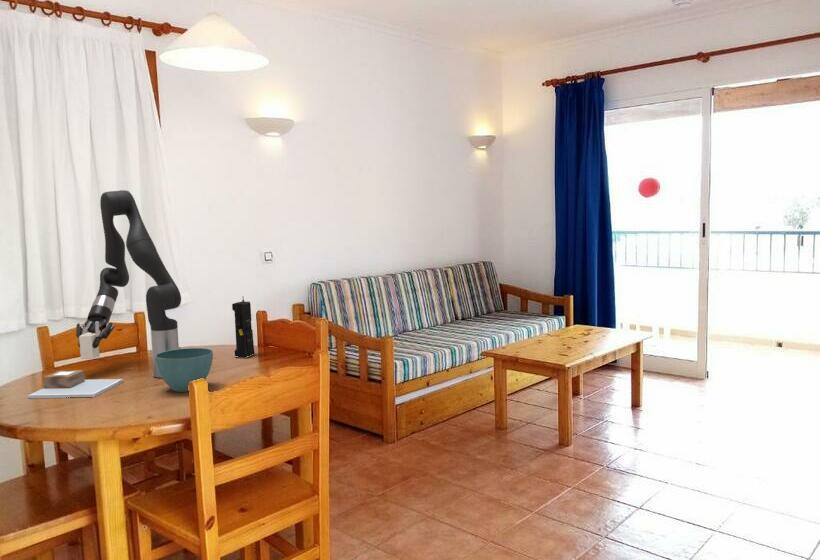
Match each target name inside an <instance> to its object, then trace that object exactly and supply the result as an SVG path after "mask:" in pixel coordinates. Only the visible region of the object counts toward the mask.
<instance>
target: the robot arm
mask: <svg viewBox="0 0 820 560" xmlns="http://www.w3.org/2000/svg"><path fill="white" fill-rule="evenodd" d="M99 204H100V206H99V207H100V213H101V219H102V226H103V227H102V228H103V233H104V241H105V245H104V246H105V247H104V251H105V255H104V257H105V258H104V261H105V263H106V264H107V265H109V266H111V267H104V268H103V269H102V270H101V271H100V274H99V289H98V291H97V294H96V297H95V298H94V300H93V302H92V305H91V307H90V309H89V312H88V314H87V319H86V321H85V322H84V323H83V324H81V323H76V328H75V329H76V330H75V336H76V337H77V339H78V340H79V336H81V335H84V334H85V333H92V334H96V337H95V339H94V342H93V344H92V346H93V348H97V347H98V346H99V345H100V342H101V341H102V340H103V339H104V340H107V339H108V337H109V336H110V334H111V333H112V331H113V330H114V329H115V326H114V325H115V324H113V322H112V321H111V322H110V319H111V317H112V315H113V311H114V309H115V304H116V301H117V298H118V296H119V290H118V287H119V288H124V287H126V286H128V283H129V282H130V274H129V270H128V267H127V264H126V259H125V258H126V249H127V251H128V254H129V256H130V257H131V260H132V261H133V263H134V264H135V265H136V266H137V267H138V268H140V269H141V270H142V271H144V272H145V274H147V275H148V276H149V277H150V278H152V280H153V281H154V282H155V284H156V285H153V286H150V287H148V289H147V291H146V294H145V302H146V303H145V304H146V305H145V306H146V311H147V319H148V323H149V326H150V338H151V340H150V341H151V352H152V353H151V355H152V368H153V369H152V370H153V371H152V372H153V377H154V378H157V379H158V378H159V379H161V378H162V376H161V374H160V372H159V370H158V367H157V363H156V358H155V355H156V354H158V353H161V352H165V351H169V350H176V349H182V347H180V345H179V344H180V343H179V330H178V329H179V328H178V327H179V326H178V321H177V320H176V319H174V318H170V317H168V316H167V314H166V311H168V310H174V309H177V308H178V307H180V305H181V304H182V295H181V292H180V289H179V287H178V285H177V284H176V283H175V281H174V279H173V278H172V277H171V275H170V273H169V271H168V269H167V268H166V266H165V264H164V262H163V260H162V258H161V256H160V255H159V252H158V250H157V247H156V245H155V244H154V241H153V240H152V237H151V236H150V234H149V232H148V230H147V227H146V225H145V223H144V222H143V221H144V220H143V219H142V216H141V214H140V211H139V210H140V209H139V208H138V205H137V202H136V201H135V198H134V195H133V194H132V193H131V192H130V191H129V190H123V189H121V190H114V191H113V190H112V191H111V190H110V191H109V190H108V191H104V192H103V193H102V194H101V195H100V202H99ZM124 215H125V217H126V218H127V220H128V223H129V226H128V227H129V229H128V233H127V235H126V239H125V240H126V242H125V240H124V239H123V237H122V236H121V234H120V233H119V231H118V229H117V228H116V227H115V224H114V218H115V216H124ZM116 287H117V288H116ZM77 346H78V348H79V349H80V342H79V341H78V343H77ZM99 347H100V346H99ZM162 379H163V378H162Z"/></svg>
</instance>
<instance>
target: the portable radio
mask: <svg viewBox="0 0 820 560" xmlns="http://www.w3.org/2000/svg"><path fill="white" fill-rule="evenodd" d="M231 307H232V308H231V310H232V311H233V312H234V326H235V347H236V348H235V350H234V357H235V356H238V357H247V356H250V355H252V354H254V353H255V345H254V334H253V333H254V331H253V329H252V308H251V301H245V299H244V297H242V301H237V302H234V303H232V304H231ZM254 355H255V354H254ZM250 357H251V356H250Z"/></svg>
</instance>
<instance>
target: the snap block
mask: <svg viewBox="0 0 820 560" xmlns="http://www.w3.org/2000/svg"><path fill="white" fill-rule="evenodd" d="M95 337H96V333H85V334H84V335H81V336H79V339H78V343H79V342H80V348H79V349H80V350H79V352H80V360H93V359H96V358H98V357H100V346H98V347H97V348H93V346H92V344H93V342H94V339H95Z"/></svg>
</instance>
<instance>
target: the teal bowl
mask: <svg viewBox="0 0 820 560" xmlns="http://www.w3.org/2000/svg"><path fill="white" fill-rule="evenodd" d="M155 358H156V363H157V367H158V370H159V372H160V374H161V376H162V380H163V381H164V382H165V384H166V385H167V387H169V388H170V389H171V390H172V391H173V392H176V393H177V392H178V393H187V392H188V393H189V391H188V385H189V382H190V381H193V380H197V379H200V378H204V379H205V380H206V379H207V377H208V376H209V374H210V371H211V367H212V364H213V360H214V359H213V358H214V350H213V349H210V348H205V347H189V348H188V347H187V348H181V349H176V350H169V351H165V352H161V353H158V354H156V355H155Z"/></svg>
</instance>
